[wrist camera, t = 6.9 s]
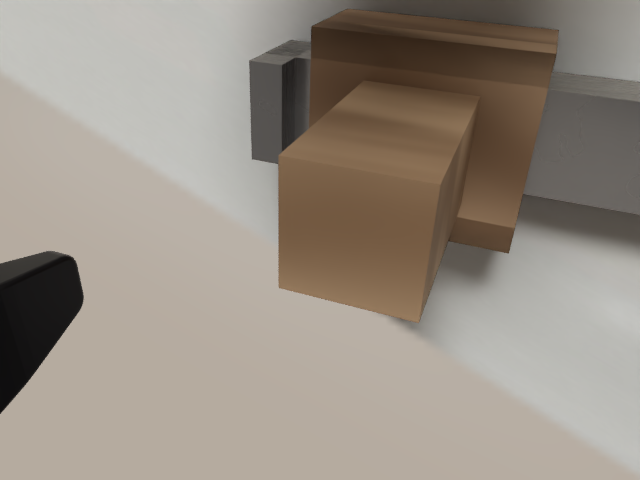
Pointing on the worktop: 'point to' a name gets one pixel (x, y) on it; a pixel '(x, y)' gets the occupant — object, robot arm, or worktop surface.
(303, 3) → the worktop surface
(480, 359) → the worktop surface
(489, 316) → the worktop surface
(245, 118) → the worktop surface
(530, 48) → the carriage
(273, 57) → the rail
